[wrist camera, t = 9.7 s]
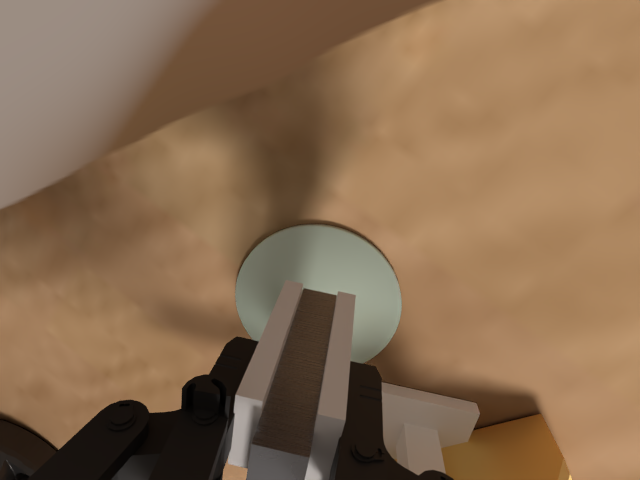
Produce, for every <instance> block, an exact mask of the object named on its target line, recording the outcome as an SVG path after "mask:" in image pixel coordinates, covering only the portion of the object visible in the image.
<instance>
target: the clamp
mask: <svg viewBox="0 0 640 480" xmlns="http://www.w3.org/2000/svg"><path fill="white" fill-rule="evenodd" d="M441 451H442V456H443V461H444V467H445V472H446V475H448V476H450V477H451V478H453V479H454V480H572V478H571V475H570V473H569V470H568V468H567V465H566V462H565V460H564V457H563V455H562V453H561V451H560V450H559V448H558V446H557V444H556V442H555V440H554V438H553V436H552V434H551V432H550V430H549V428H548V426H547V424H546V422H545V421H544V419H543V417H542V415H541V414H537V415H533V416H529V417H525V418H521V419H517V420H513V421H509V422H505V423H501V424H497V425H493V426H489V427H485V428H481V429H477V430H473V431H472V433H471V435H470V438H469V440H468V442H464V443H460V444H456V445H452V446H448V447H444V448H441ZM394 460H395V461H396V462H397V459H394Z"/></svg>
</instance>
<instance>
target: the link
mask: <svg viewBox="0 0 640 480" xmlns="http://www.w3.org/2000/svg"><path fill="white" fill-rule="evenodd" d="M336 298H337V295H333V294H329V293H324V292H320V291H315V290H310V289H306V288H304V289H303V292H302V295H301V298H300V301H299V304H298V307H297V310H296V313H295V316H294V319H293V322H292V325H291V328H290V331H289V334H288V337H287V340H286V343H285V346H284V349H283V352H282V355H281V358H280V361H279V364H278V367H277V370H276V373H275V376H274V379H273V382H272V385H271V388H270V391H269V394H268V397H267V400H266V402H265V405H264V408H263V411H262V414H261V417H260V420H259V423H258V426H257V429H256V432H255V434H254V437H253V440H252V443H251V450H250V457H249V464H248V471H247V478H246V480H305V475H306V471H307V467H308V463H309V458H310V452H311V446H312V441H313V435H314V427H315V421H316V415H317V409H318V403H319V397H320V391H321V385H322V380H323V374H324V368H325V362H326V356H327V350H328V344H329V338H330V333H331V327H332V321H333V315H334V309H335V303H336Z"/></svg>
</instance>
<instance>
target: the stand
mask: <svg viewBox="0 0 640 480" xmlns="http://www.w3.org/2000/svg"><path fill="white" fill-rule="evenodd" d="M382 413H383V439H384V445H385V447H386V449H387V451H388V453H389V454H390V455H391V457H392V458H393V459H397V463H399V464H400V465H402V466H403V467H405V468H406V469H408V470H410V471H412V472H413V473H415V474H417V475H420V474H421V473H423V472H424V471H428V470H436V471H440V472H443V473H445V474H446V472H445V467H444V461H443V456H442V451H441V448H444V447H448V446H452V445H456V444H460V443H464V442H468V440H469V438H470V435H471V433H472V431H473V429H474V427H475V424H476V422H477V420H478V418H479V416H480V412H479V409H478V406H477V403H474V402H470V401H465V400H461V399H456V398H452V397H447V396H443V395H438V394H433V393H429V392H424V391H420V390H415V389H411V388H406V387H402V386H397V385H393V384H388V383H384V382H382Z"/></svg>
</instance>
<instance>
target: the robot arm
mask: <svg viewBox="0 0 640 480" xmlns="http://www.w3.org/2000/svg"><path fill="white" fill-rule="evenodd" d="M302 288H303V284H302V283H298V282H293V281H288V280H286V281H285V283H284V286H283V288H282V290H281V292H280V295H279V297H278V299H277V301H276V304H275V306H274V308H273V311H272V313H271V315H270V317H269V320H268V322H267V324H266V327H265V329H264V331H263V333H262V336H261V338H260V340H259V341H255V340H251V339H246V338H242V337H235V338H234V339H232V340H231V341H230V342H228V343H227V344H226V345H225V347H224V349H223V351H222V352H221V354H220V356H219V358H218V359H217V361H216V364H215V365H214V367H213V368H212V370H211V372H210V374H209V375H201V376H197V377H194V378H193V379H191V380H189V381H188V382H187V383H186V384H185V385H184V387H183V388H182V406H181V409H179V410H176V411H171V412H160V413H149V411H148V409H147V407H146V406H145V405H144V404H142V403H141V402H139V401H134V400H124V401H118V402H116V403H113V404H110V405H109V406H107V407H106V408H104V409H103V410H101V411H100V412H99V413H98V414H97V415H96V416H95V417H94V418H93V419H92V420H91V421H90V422H88V423H87V424H86V425H85V426H84V427H83V428H82V429H81V430H80V431H79V432H78V433H77V434H76V435H74V436H73V437H72V438H71V439H70V440H69V441H68V442H67V443H66V444H65V445H64V446H63V447H62V448H60V449H59V450H58V451H57V452H56V451H55V450H54V449H53V448H52V447H50V446H49V445H48V444H47V443H45V442H44V441H43V440H41V439H40V438H38V437H37V436H35V435H33V434H32V433H30V432H28V431H26V430H25V429H23V428H20V427H18V426H16V425H14V424H11V423H9V422H6V421H3V420H0V480H222V475H223V469H224V466H225V463H226V461H227V458H228V456H229V458H228V464H231V465H235V466H240V467H244V468H248V464H249V457H250V450H251V443H252V440H253V437H254V434H255V432H256V429H257V426H258V423H259V420H260V417H261V414H262V411H263V408H264V405H265V402H266V400H267V397H268V394H269V391H270V388H271V385H272V382H273V379H274V376H275V373H276V370H277V367H278V364H279V361H280V358H281V355H282V352H283V349H284V346H285V343H286V340H287V337H288V334H289V331H290V328H291V325H292V322H293V319H294V316H295V313H296V310H297V307H298V304H299V301H300V298H301V294H302ZM355 298H356V295H354V294H349V293H344V292H340V291H338V294H337V299H336V303H335V309H334V315H333V321H332V327H331V333H330V338H329V344H328V350H327V356H326V362H325V368H324V374H323V380H322V385H321V391H320V397H319V403H318V409H317V415H316V421H315V427H314V435H313V441H312V446H311V452H310V458H309V463H308V467H307V471H306V475H305V480H454V479H453V478H451V477H450V476H448V475H446V474H445V473H443V472H440V471H436V470H428V471H424V472H423V473H421V474H420V475H417V474H415V473H413V472H412V471H410V470H408V469H406V468H405V467H403V466H402V465H400V464H399V463H397V462H396V461H395V460H394V459H393V458H392V457H391V455H390V454H389V453H388V451H387V449H386V447H385V445H384V439H383V413H382V378H381V376H380V374H379V372H378V370H377V369H376V367H375V366H371V365H366V364H362V363H357V362H353V361H350V360H351V347H352V335H353V323H354V310H355Z"/></svg>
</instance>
